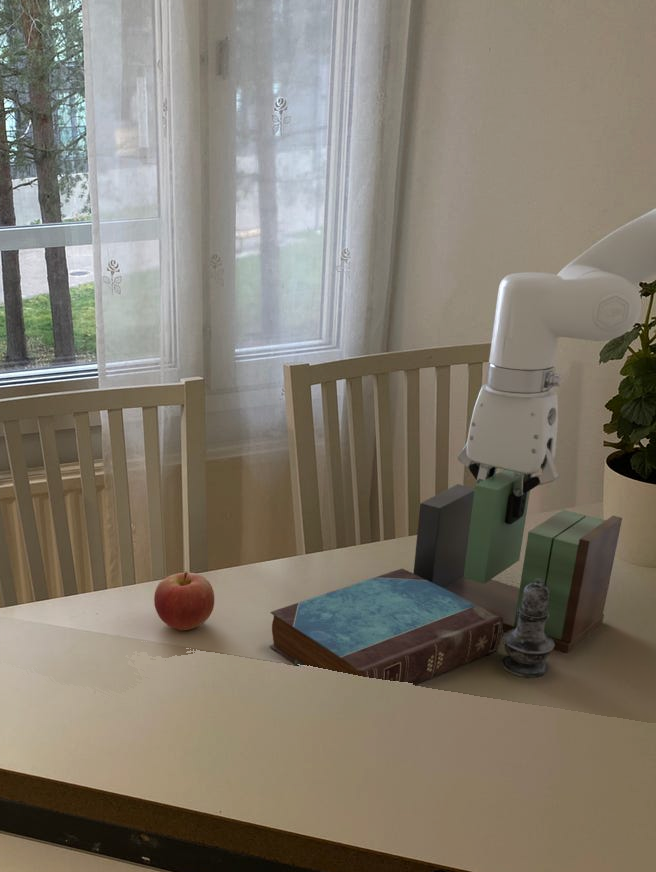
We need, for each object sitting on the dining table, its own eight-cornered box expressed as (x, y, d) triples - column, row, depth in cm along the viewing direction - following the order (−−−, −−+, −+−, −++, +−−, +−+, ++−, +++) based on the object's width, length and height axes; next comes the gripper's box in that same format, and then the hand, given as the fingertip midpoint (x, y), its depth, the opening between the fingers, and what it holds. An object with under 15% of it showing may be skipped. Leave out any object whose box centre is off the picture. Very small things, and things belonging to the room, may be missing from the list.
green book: (498, 554, 127) (511, 465, 122) (519, 560, 125) (533, 470, 120) (463, 577, 121) (475, 484, 115) (484, 584, 119) (497, 490, 113)
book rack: (439, 570, 136) (450, 475, 129) (602, 622, 120) (624, 516, 114) (399, 595, 129) (408, 495, 122) (567, 653, 113) (587, 542, 107)
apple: (225, 631, 120) (225, 577, 117) (169, 644, 118) (167, 588, 114) (200, 606, 127) (199, 554, 124) (147, 617, 124) (145, 564, 121)
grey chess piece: (528, 650, 114) (543, 563, 109) (560, 673, 109) (577, 583, 104) (488, 658, 112) (501, 571, 107) (519, 682, 107) (534, 591, 102)
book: (362, 709, 103) (365, 672, 101) (267, 645, 117) (268, 611, 115) (499, 652, 114) (504, 617, 112) (398, 599, 127) (400, 567, 125)
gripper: (598, 383, 109) (572, 525, 117) (472, 364, 120) (456, 495, 128) (572, 395, 104) (547, 542, 112) (443, 374, 115) (428, 510, 123)
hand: (499, 516), depth 120 cm, fingers closed on green book, 3 cm apart
